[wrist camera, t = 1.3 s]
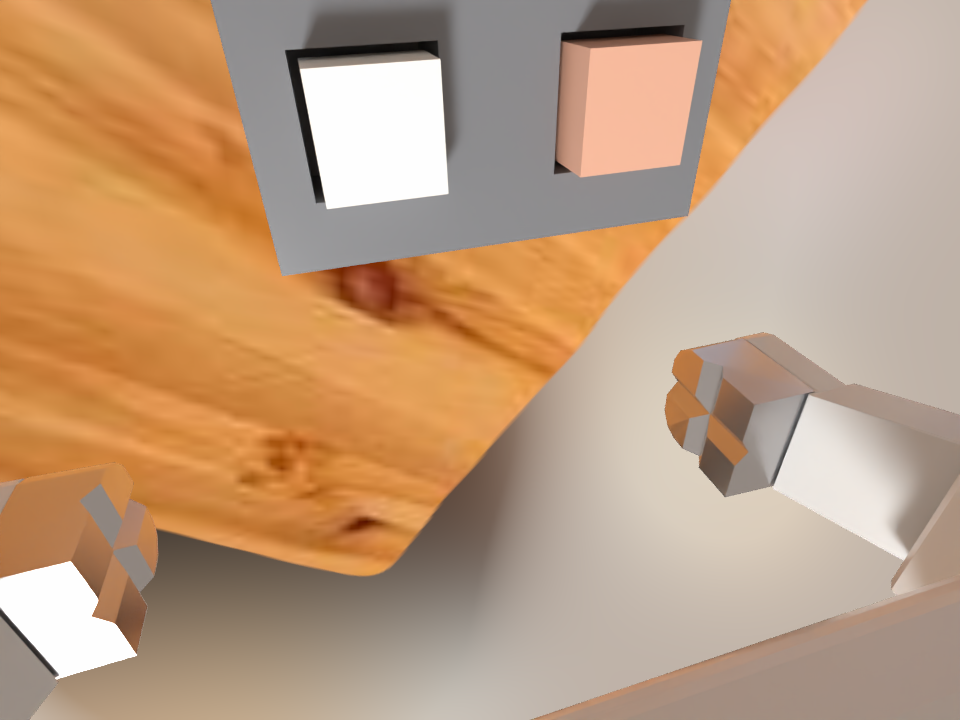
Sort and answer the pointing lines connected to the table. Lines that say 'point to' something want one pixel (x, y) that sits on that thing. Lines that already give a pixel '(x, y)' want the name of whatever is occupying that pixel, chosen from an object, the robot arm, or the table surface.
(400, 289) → the table surface
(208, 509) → the table surface
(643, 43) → the terracotta key
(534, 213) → the console
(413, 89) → the white key
